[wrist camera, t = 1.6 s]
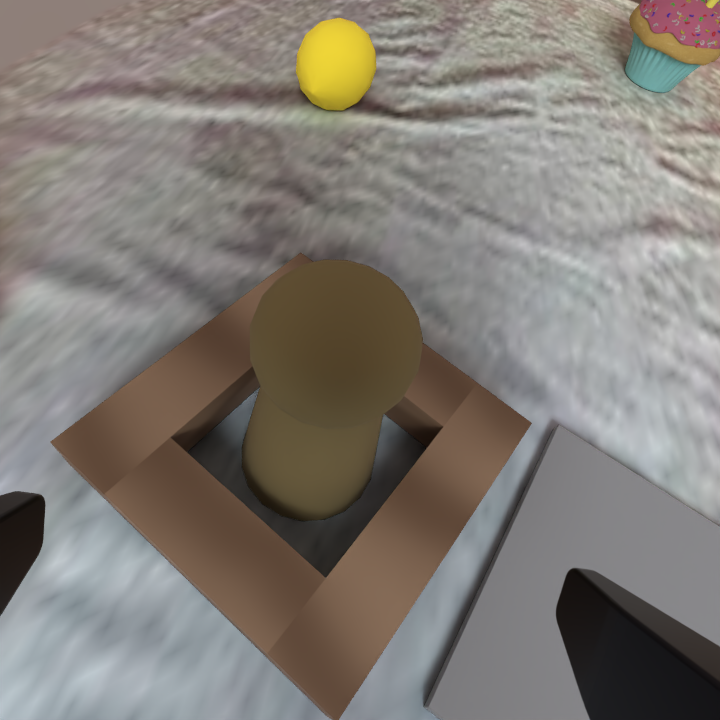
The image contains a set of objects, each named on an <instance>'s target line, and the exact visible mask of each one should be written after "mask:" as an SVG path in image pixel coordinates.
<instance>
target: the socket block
mask: <svg viewBox="0 0 720 720" xmlns="http://www.w3.org/2000/svg"><path fill="white" fill-rule="evenodd" d="M311 262H313V261H312V260H310V259H309V258H307V257H306V256H305V255H303V254H302V253H300V254H298V255H297V256H296V257H294V258H293V259H292V260H290V261H289V262H288V263H286V264H285V265H284V266H282V267H281V268H280V269H278V270H277V271H276V272H274V273H273V274H272V275H270V276H269V277H268V278H266V279H265V280H264V281H263V282H261V283H260V284H259V285H257V286H256V287H255V288H253V289H252V290H251V291H249V292H248V293H247V294H245V295H244V296H243V297H241V298H240V299H239V300H237V301H236V302H235V303H233V304H232V305H231V306H229V307H228V308H227V309H225V310H224V311H223V312H221V313H220V314H219V315H218V316H216V317H215V318H214V319H212V320H211V321H210V322H208V323H207V324H206V325H204V326H203V327H202V328H200V329H199V330H198V331H196V332H195V333H194V334H192V335H191V336H190V337H188V338H187V339H186V340H184V341H183V342H182V343H180V344H179V345H178V346H177V347H175V348H174V349H173V350H171V351H170V352H169V353H167V354H166V355H165V356H163V357H162V358H161V359H159V360H158V361H157V362H155V363H154V364H153V365H151V366H150V367H149V368H147V369H146V370H145V371H143V372H142V373H141V374H139V375H138V376H137V377H135V378H134V379H133V380H132V381H130V382H129V383H128V384H126V385H125V386H124V387H122V388H121V389H120V390H118V391H117V392H116V393H114V394H113V395H112V396H110V397H109V398H108V399H106V400H105V401H104V402H102V403H101V404H100V405H98V406H97V407H96V408H94V409H93V410H92V411H91V412H89V413H88V414H87V415H85V416H84V417H83V418H81V419H80V420H79V421H77V422H76V423H75V424H73V425H72V426H71V427H69V428H68V429H67V430H65V431H64V432H63V433H61V434H60V435H59V436H57V437H56V438H55V439H53V440H52V441H51V443H52V445H53V446H54V447H55V448H56V449H57V450H58V451H59V453H60V454H61V455H62V456H63V457H64V458H65V460H66V461H67V462H68V463H69V464H70V465H71V466H72V467H73V468H74V469H75V470H76V471H77V472H78V473H79V474H80V475H81V476H82V477H83V478H84V479H85V480H86V481H87V482H88V483H89V484H90V485H91V486H92V487H93V488H94V489H95V490H96V491H97V492H98V493H99V494H100V495H101V496H102V497H103V498H104V499H105V500H106V501H108V502H109V503H110V504H111V505H112V506H113V507H114V508H115V509H116V510H117V511H118V512H119V513H120V514H121V515H122V516H123V517H124V518H125V519H126V520H127V521H128V522H129V523H130V524H131V525H132V526H133V527H134V528H135V529H136V530H137V531H138V532H139V533H140V534H141V535H142V536H143V537H144V538H145V539H146V540H147V541H148V542H149V543H150V544H151V545H152V546H153V547H155V548H156V549H157V550H158V551H159V552H160V553H161V554H162V555H163V556H164V557H165V558H166V559H167V560H168V561H169V562H170V563H171V564H172V565H173V566H174V567H175V568H176V569H177V570H178V571H179V572H180V573H181V574H182V575H183V576H184V577H185V578H186V579H187V580H188V581H189V582H190V583H191V584H192V585H193V586H194V587H195V588H196V589H197V590H198V591H199V592H200V593H201V594H203V595H204V596H205V597H206V598H207V599H208V600H209V601H210V602H211V603H212V604H213V605H214V606H215V607H216V608H217V609H218V610H219V611H220V612H221V613H222V614H223V615H224V616H225V617H226V618H227V619H228V620H229V621H230V622H231V623H232V624H233V625H234V626H235V627H236V628H237V629H238V630H239V631H240V632H241V633H242V634H243V635H244V636H245V637H246V638H247V639H248V640H250V641H251V642H252V643H253V644H254V645H255V646H256V647H257V648H258V649H259V650H260V651H261V652H262V653H263V654H264V655H265V656H266V657H267V658H268V659H269V660H270V661H271V662H272V663H273V664H274V665H275V666H276V667H277V668H278V669H279V670H280V671H281V672H282V673H283V674H284V675H285V676H286V677H287V678H288V679H289V680H290V681H291V682H292V683H293V684H294V685H295V686H296V687H298V688H299V689H300V690H301V691H302V692H303V693H304V694H305V695H306V696H307V697H308V698H309V699H310V700H311V701H312V702H313V703H314V704H315V705H316V706H317V707H318V708H319V709H320V710H321V711H322V712H323V713H324V714H325V715H326V716H327V717H329V718H330V719H332V720H339V718H340V717H341V715H342V714H343V712H344V711H345V709H346V708H347V706H348V705H349V703H350V701H351V700H352V698H353V697H354V695H355V694H356V692H357V691H358V689H359V688H360V686H361V685H362V683H363V681H364V680H365V678H366V677H367V675H368V674H369V672H370V671H371V669H372V668H373V666H374V665H375V663H376V662H377V660H378V658H379V657H380V655H381V654H382V652H383V651H384V649H385V648H386V646H387V645H388V643H389V642H390V640H391V638H392V637H393V635H394V634H395V632H396V631H397V629H398V628H399V626H400V625H401V623H402V622H403V620H404V619H405V617H406V615H407V614H408V612H409V611H410V609H411V608H412V606H413V605H414V603H415V602H416V600H417V599H418V597H419V596H420V594H421V592H422V591H423V589H424V588H425V586H426V585H427V583H428V582H429V580H430V579H431V577H432V576H433V574H434V572H435V571H436V569H437V568H438V566H439V565H440V563H441V562H442V560H443V559H444V557H445V556H446V554H447V553H448V551H449V549H450V548H451V546H452V545H453V543H454V542H455V540H456V539H457V537H458V536H459V534H460V533H461V531H462V530H463V528H464V526H465V525H466V523H467V522H468V520H469V519H470V517H471V516H472V514H473V513H474V511H475V510H476V508H477V506H478V505H479V503H480V502H481V500H482V499H483V497H484V496H485V494H486V493H487V491H488V490H489V488H490V487H491V485H492V483H493V482H494V480H495V479H496V477H497V476H498V474H499V473H500V471H501V470H502V468H503V467H504V465H505V463H506V462H507V460H508V459H509V457H510V456H511V454H512V453H513V451H514V450H515V448H516V447H517V445H518V444H519V442H520V440H521V439H522V437H523V436H524V434H525V433H526V431H527V430H528V428H529V427H530V425H531V424H532V423H531V422H530V421H528V420H527V419H526V418H524V417H523V416H521V415H520V414H519V413H517V412H516V411H515V410H513V409H512V408H511V407H509V406H508V405H507V404H505V403H504V402H502V401H501V400H500V399H498V398H497V397H496V396H494V395H493V394H492V393H490V392H489V391H488V390H486V389H485V388H484V387H482V386H481V385H479V384H478V383H477V382H475V381H474V380H473V379H471V378H470V377H469V376H467V375H466V374H465V373H463V372H462V371H461V370H459V369H458V368H456V367H455V366H454V365H452V364H451V363H450V362H448V361H447V360H446V359H444V358H443V357H442V356H440V355H439V354H437V353H436V352H435V351H433V350H432V349H431V348H429V347H428V346H427V345H425V344H424V343H423V342H422V352H421V359H420V365H419V371H418V373H417V375H416V376H415V378H414V380H413V382H412V383H411V385H410V387H409V388H408V390H407V392H406V393H405V395H404V397H403V398H402V400H401V401H400V402H398V403H397V404H396V405H395V406H393V407H392V408H391V409H390V410H388V411H387V412H386V413H385V415H386V416H388V417H389V418H390V419H391V420H393V421H394V422H395V423H396V424H398V425H399V426H400V427H401V428H403V429H404V430H405V431H406V432H408V433H409V434H410V435H412V436H413V437H414V438H415V439H417V440H418V441H419V442H420V443H422V444H423V445H424V446H425V447H427V449H426V450H425V451H424V453H423V454H422V455H421V456H420V458H419V459H418V460H417V462H416V463H415V464H414V465H413V467H412V468H411V469H410V471H409V472H408V473H407V474H406V476H405V477H404V478H403V480H402V481H401V482H400V483H399V485H398V486H397V487H396V489H395V490H394V491H393V492H392V494H391V495H390V496H389V498H388V499H387V500H386V501H385V503H384V504H383V505H382V507H381V508H380V509H379V510H378V512H377V513H376V514H375V516H374V517H373V518H372V519H371V521H370V522H369V523H368V525H367V526H366V527H365V528H364V530H363V531H362V532H361V534H360V535H359V536H358V537H357V539H356V540H355V541H354V543H353V544H352V545H351V546H350V548H349V549H348V550H347V552H346V553H345V554H344V555H343V557H342V558H341V559H340V561H339V562H338V563H337V564H336V566H335V567H334V568H333V570H332V571H331V572H330V573H329V575H328V576H327V577H326V578H325V577H324V576H323V575H322V574H321V573H320V572H319V571H318V570H316V569H315V568H314V567H313V566H312V565H311V564H310V563H309V562H308V561H306V560H305V559H304V558H303V557H302V556H301V555H300V554H299V553H298V552H297V551H295V550H294V549H293V548H292V547H291V546H290V545H289V544H288V543H287V542H285V541H284V540H283V539H282V538H281V537H280V536H279V535H278V534H277V533H276V532H274V531H273V530H272V529H271V528H270V527H269V526H268V525H267V524H266V523H264V522H263V521H262V520H261V519H260V518H259V517H258V516H257V515H256V514H255V513H253V512H252V511H251V510H250V509H249V508H248V507H247V506H246V505H245V504H243V503H242V502H241V501H240V500H239V499H238V498H237V497H236V496H235V495H234V494H232V493H231V492H230V491H229V490H228V489H227V488H226V487H225V486H224V485H222V484H221V483H220V482H219V481H218V480H217V479H216V478H215V477H214V476H213V475H211V474H210V473H209V472H208V471H207V470H206V469H205V468H204V467H203V466H201V465H200V464H199V463H198V462H197V461H196V460H195V459H194V458H193V457H192V456H190V455H189V454H188V453H187V452H188V451H189V450H190V449H191V448H192V447H193V446H194V445H195V444H197V443H198V442H199V441H200V440H201V439H202V438H203V437H204V436H205V435H207V434H208V433H209V432H210V431H211V430H212V429H213V428H214V427H215V426H217V425H218V424H219V423H220V422H221V421H222V420H223V419H224V418H225V417H227V416H228V415H229V414H230V413H231V412H232V411H233V410H234V409H235V408H237V407H238V406H239V405H240V404H241V403H242V402H243V401H244V400H245V399H247V398H248V397H249V396H250V395H251V394H252V393H253V392H254V391H255V390H257V389H258V388H259V387H260V384H259V381H258V379H257V376H256V374H255V371H254V369H253V366H252V363H251V361H250V324H251V322H252V319H253V317H254V314H255V312H256V309H257V307H258V304H259V302H260V300H261V297H262V295H263V294H264V293H265V292H266V291H267V290H268V289H269V288H270V287H271V286H272V284H273V283H274V282H275V281H276V280H277V279H278V278H280V277H281V276H283V275H284V274H286V273H288V272H290V271H292V270H294V269H295V268H297V267H299V266H301V265H303V264H306V263H311Z"/></svg>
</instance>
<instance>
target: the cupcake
mask: <svg viewBox="0 0 720 720" xmlns="http://www.w3.org/2000/svg"><path fill="white" fill-rule="evenodd" d="M630 26H631V28H632V30H633V31H634V38H633V43H632V47H631V51H630V55H629V58H628V61H627V64H626V67H625V72H626V74H627V76H628V77H629V78H630V79H631V80H632V81H633V82H634V83H635V84H637V85H639V86H640V87H642V88H644V89H647V90H650V91H653V92H659V93H664V92H668V91H670V90H672V89H673V88H674V87H675V86H676V85H677V84H678V83H679V82H681V81H682V80H683V79H684V78H685V77H686V76H688V75H689V74H690V73H691V72H693V71H694V70H695V69H697V68H698V67H700V66H701V65H702V66H704V65H707V64H708V63H710V62H714V61H716V60H717V59H718V57H719V56H720V2H719V0H642V1H641V3H640V4H639V5H638V6H637V8H636V9H635V10H634V11H633V13H632V14H631V16H630Z"/></svg>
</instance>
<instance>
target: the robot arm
mask: <svg viewBox="0 0 720 720" xmlns="http://www.w3.org/2000/svg"><path fill="white" fill-rule="evenodd" d="M44 518H45V500H44V497H43V496H42V495H40V494H35V493H28V492H21V491H15V492H11V493H8V494H4V495H1V496H0V616H1V614H2V613H3V611H4V610H5V608H6V606H7V605H8V603H9V602H10V600H11V598H12V597H13V595H14V594H15V592H16V590H17V589H18V587H19V586H20V584H21V582H22V581H23V579H24V578H25V576H26V574H27V573H28V571H29V570H30V568H31V566H32V565H33V563H34V562H35V560H36V558H37V557H38V555H39V553H40V550H41V547H42V544H43V534H44ZM556 620H557V624H558V627H559V630H560V633H561V636H562V640H563V643H564V646H565V649H566V652H567V655H568V658H569V661H570V664H571V667H572V670H573V673H574V677H575V680H576V683H577V686H578V689H579V692H580V695H581V698H582V700H583V703H584V706H585V709H586V711H587V714H588V716H589V719H590V720H720V646H719V645H717V644H715V643H714V642H712V641H710V640H709V639H707V638H705V637H704V636H702V635H700V634H699V633H697V632H695V631H694V630H692V629H690V628H689V627H687V626H685V625H684V624H682V623H681V622H679V621H677V620H676V619H674V618H672V617H671V616H669V615H667V614H666V613H664V612H662V611H661V610H659V609H657V608H656V607H654V606H652V605H651V604H649V603H648V602H646V601H644V600H643V599H641V598H639V597H638V596H636V595H634V594H633V593H631V592H629V591H628V590H626V589H624V588H623V587H621V586H619V585H618V584H616V583H615V582H613V581H611V580H610V579H608V578H606V577H605V576H603V575H601V574H600V573H598V572H596V571H594V570H590V569H583V568H572V569H570V570H569V571H568V572H567V574H566V577H565V580H564V583H563V586H562V590H561V593H560V596H559V599H558V602H557V606H556Z"/></svg>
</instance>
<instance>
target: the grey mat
mask: <svg viewBox="0 0 720 720" xmlns="http://www.w3.org/2000/svg"><path fill="white" fill-rule="evenodd" d="M572 568H583V569H590V570H594V571H596V572H598V573H600V574H601V575H603V576H605V577H606V578H608V579H610V580H611V581H613V582H615V583H616V584H618V585H619V586H621V587H623V588H624V589H626V590H628V591H629V592H631V593H633V594H634V595H636V596H638V597H639V598H641V599H643V600H644V601H646V602H648V603H649V604H651V605H652V606H654V607H656V608H657V609H659V610H661V611H662V612H664V613H666V614H667V615H669V616H671V617H672V618H674V619H676V620H677V621H679V622H681V623H682V624H684V625H685V626H687V627H689V628H690V629H692V630H694V631H695V632H697V633H699V634H700V635H702V636H704V637H705V638H707V639H709V640H710V641H712V642H714V643H715V644H717V645H719V646H720V526H718V525H716V524H715V523H713V522H712V521H710V520H709V519H707V518H705V517H704V516H702V515H701V514H699V513H697V512H696V511H694V510H693V509H691V508H690V507H688V506H686V505H685V504H683V503H682V502H680V501H679V500H677V499H675V498H674V497H672V496H671V495H669V494H667V493H666V492H664V491H663V490H661V489H660V488H658V487H656V486H655V485H653V484H652V483H650V482H649V481H647V480H645V479H644V478H642V477H641V476H639V475H638V474H636V473H634V472H633V471H631V470H630V469H628V468H626V467H625V466H623V465H622V464H620V463H619V462H617V461H615V460H614V459H612V458H611V457H609V456H608V455H606V454H604V453H603V452H601V451H600V450H598V449H596V448H595V447H593V446H592V445H590V444H589V443H587V442H585V441H584V440H582V439H581V438H579V437H578V436H576V435H574V434H573V433H571V432H570V431H568V430H567V429H565V428H563V427H562V426H560V425H558V426H557V427H556V428H554V429H553V431H552V433H551V435H550V437H549V439H548V442H547V444H546V446H545V448H544V450H543V452H542V454H541V457H540V459H539V461H538V463H537V465H536V467H535V469H534V472H533V474H532V476H531V478H530V480H529V482H528V484H527V487H526V489H525V491H524V493H523V495H522V497H521V499H520V502H519V504H518V506H517V508H516V510H515V512H514V514H513V517H512V519H511V521H510V523H509V525H508V527H507V529H506V532H505V534H504V536H503V538H502V540H501V542H500V544H499V547H498V549H497V551H496V553H495V555H494V557H493V559H492V562H491V564H490V566H489V568H488V570H487V572H486V574H485V577H484V579H483V581H482V583H481V585H480V587H479V589H478V592H477V594H476V596H475V598H474V600H473V602H472V604H471V607H470V609H469V611H468V613H467V615H466V617H465V619H464V622H463V624H462V626H461V628H460V630H459V632H458V634H457V637H456V639H455V641H454V643H453V645H452V647H451V649H450V652H449V654H448V656H447V658H446V660H445V662H444V664H443V667H442V669H441V671H440V673H439V675H438V677H437V679H436V682H435V684H434V686H433V688H432V690H431V692H430V694H429V697H428V699H427V701H426V703H425V705H424V708H426V709H427V710H428V711H430V712H431V713H432V714H434V715H435V716H436V717H437V718H439V719H440V720H590V719H589V716H588V714H587V711H586V709H585V706H584V703H583V700H582V698H581V695H580V692H579V689H578V686H577V683H576V680H575V677H574V673H573V670H572V667H571V664H570V661H569V658H568V655H567V652H566V649H565V646H564V643H563V640H562V636H561V633H560V630H559V627H558V624H557V620H556V606H557V602H558V599H559V596H560V593H561V590H562V586H563V583H564V580H565V577H566V574H567V572H568V571H569V570H570V569H572Z"/></svg>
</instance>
